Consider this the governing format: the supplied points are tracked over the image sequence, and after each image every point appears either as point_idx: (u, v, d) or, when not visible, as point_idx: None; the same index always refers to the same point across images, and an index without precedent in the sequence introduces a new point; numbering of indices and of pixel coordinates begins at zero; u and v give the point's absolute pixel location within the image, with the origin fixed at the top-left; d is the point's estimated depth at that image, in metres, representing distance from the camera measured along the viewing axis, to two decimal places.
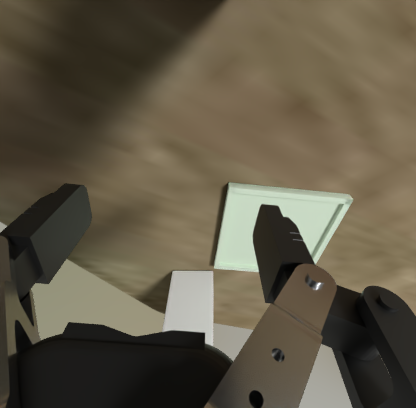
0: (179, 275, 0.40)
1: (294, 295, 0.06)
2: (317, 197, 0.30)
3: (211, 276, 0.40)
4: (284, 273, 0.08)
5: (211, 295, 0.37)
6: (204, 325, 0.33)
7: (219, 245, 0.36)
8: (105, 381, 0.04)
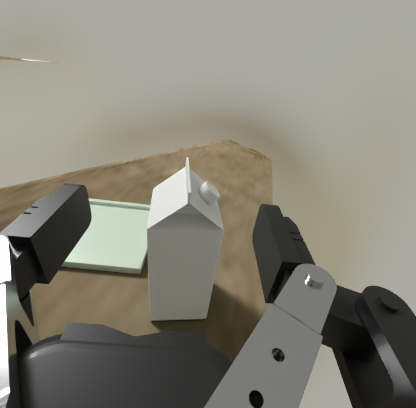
0: None
1: (294, 295, 0.06)
2: None
3: None
4: (284, 273, 0.08)
5: None
6: None
7: (102, 264, 0.34)
8: (105, 381, 0.04)
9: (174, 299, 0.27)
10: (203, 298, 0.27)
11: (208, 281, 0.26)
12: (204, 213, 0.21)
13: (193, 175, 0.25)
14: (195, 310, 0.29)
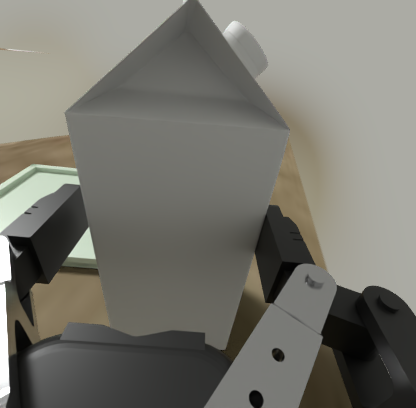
0: None
1: (294, 295, 0.06)
2: (9, 179, 0.29)
3: None
4: (284, 273, 0.08)
5: None
6: None
7: None
8: (105, 381, 0.04)
9: (161, 316, 0.13)
10: (223, 313, 0.13)
11: (235, 277, 0.12)
12: None
13: None
14: (205, 336, 0.15)
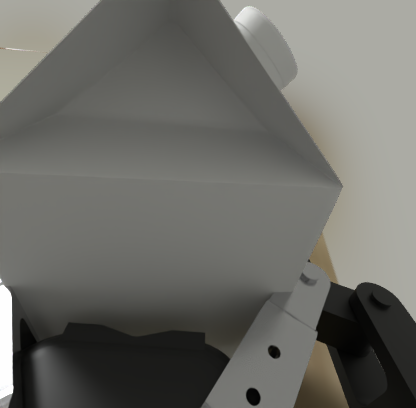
0: None
1: None
2: None
3: None
4: None
5: None
6: None
7: None
8: (105, 381, 0.04)
9: None
10: None
11: None
12: None
13: None
14: None
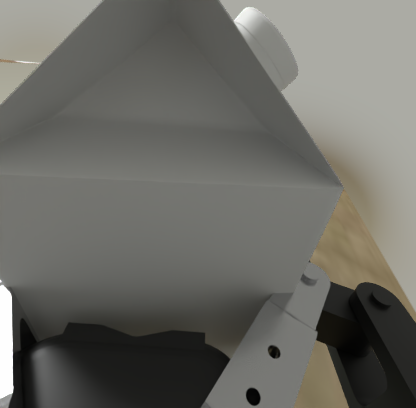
0: None
1: None
2: None
3: None
4: None
5: None
6: None
7: None
8: (105, 381, 0.04)
9: None
10: None
11: None
12: None
13: None
14: None
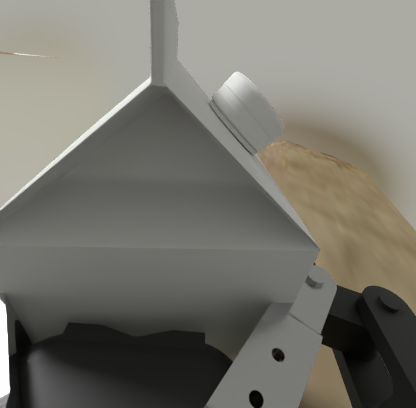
0: None
1: None
2: None
3: None
4: None
5: None
6: None
7: None
8: (105, 381, 0.04)
9: None
10: None
11: None
12: (245, 165, 0.04)
13: (192, 78, 0.08)
14: None
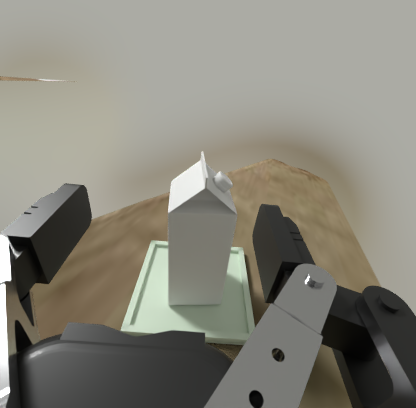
0: None
1: (294, 295, 0.06)
2: (145, 259, 0.37)
3: None
4: (284, 273, 0.08)
5: None
6: None
7: (210, 335, 0.28)
8: (105, 381, 0.04)
9: (191, 283, 0.29)
10: (218, 283, 0.29)
11: (222, 265, 0.28)
12: (219, 197, 0.23)
13: (207, 167, 0.28)
14: (210, 295, 0.31)
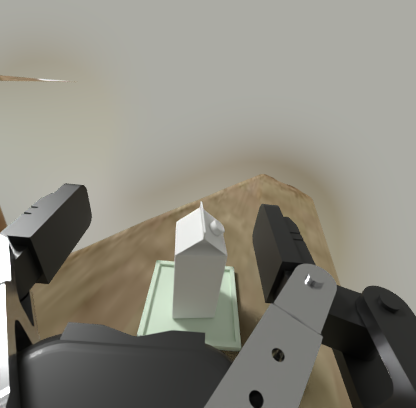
0: (172, 307, 0.39)
1: (294, 295, 0.06)
2: (152, 278, 0.45)
3: None
4: (284, 273, 0.08)
5: None
6: None
7: None
8: (105, 381, 0.04)
9: (190, 302, 0.37)
10: (212, 302, 0.37)
11: (216, 290, 0.36)
12: (214, 244, 0.31)
13: (205, 214, 0.35)
14: (206, 311, 0.39)
